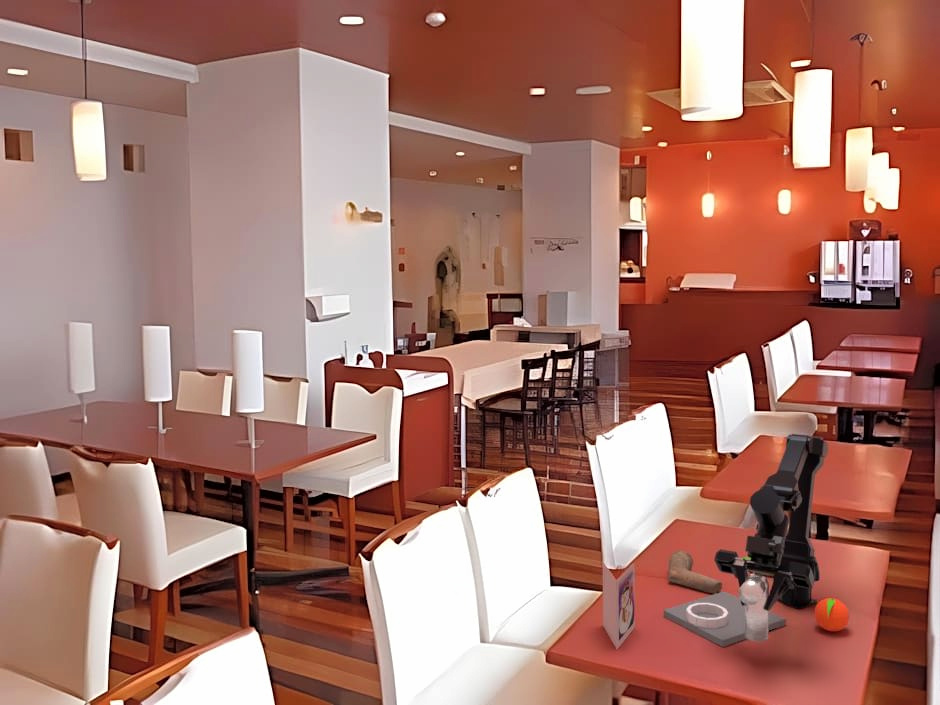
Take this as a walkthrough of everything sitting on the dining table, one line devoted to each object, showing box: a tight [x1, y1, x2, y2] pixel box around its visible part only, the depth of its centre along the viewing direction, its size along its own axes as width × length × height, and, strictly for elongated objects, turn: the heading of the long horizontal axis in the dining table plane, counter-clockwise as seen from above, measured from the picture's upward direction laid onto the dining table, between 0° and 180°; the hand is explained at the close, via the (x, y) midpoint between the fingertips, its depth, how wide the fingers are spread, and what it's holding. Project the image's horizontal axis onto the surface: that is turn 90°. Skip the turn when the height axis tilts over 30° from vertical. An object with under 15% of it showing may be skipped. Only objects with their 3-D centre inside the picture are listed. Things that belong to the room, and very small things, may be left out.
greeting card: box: [602, 561, 636, 650], centre depth 187 cm, size 11×7×15 cm, turn 151°
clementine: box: [814, 597, 850, 632], centre depth 187 cm, size 8×7×7 cm
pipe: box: [667, 550, 723, 595], centre depth 215 cm, size 6×17×10 cm
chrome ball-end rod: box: [737, 572, 770, 643], centre depth 172 cm, size 8×4×13 cm, turn 146°
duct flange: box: [663, 591, 786, 648], centre depth 193 cm, size 19×18×4 cm
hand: (754, 607), depth 172 cm, fingers closed on chrome ball-end rod, 4 cm apart
